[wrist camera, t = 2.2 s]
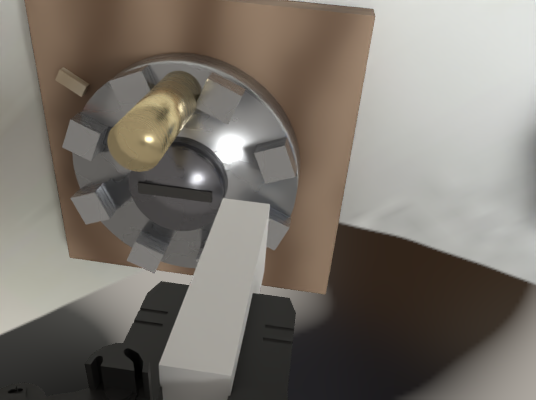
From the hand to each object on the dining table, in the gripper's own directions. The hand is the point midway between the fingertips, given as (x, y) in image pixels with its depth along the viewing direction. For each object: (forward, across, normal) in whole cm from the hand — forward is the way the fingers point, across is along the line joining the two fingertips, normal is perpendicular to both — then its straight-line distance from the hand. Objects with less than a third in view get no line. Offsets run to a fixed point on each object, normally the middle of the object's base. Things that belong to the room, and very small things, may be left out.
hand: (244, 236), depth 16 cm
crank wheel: (+15, +6, +6) cm, 17 cm away
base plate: (+17, +6, +6) cm, 19 cm away
